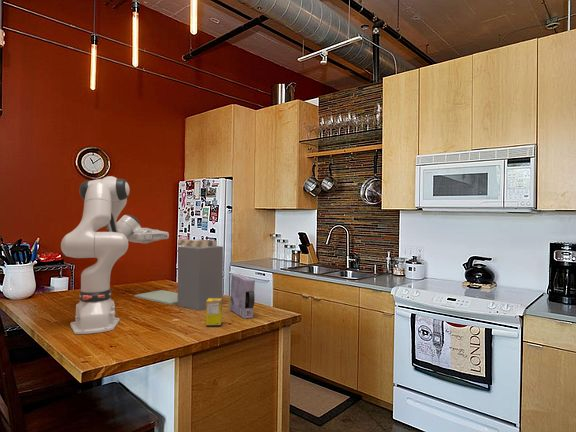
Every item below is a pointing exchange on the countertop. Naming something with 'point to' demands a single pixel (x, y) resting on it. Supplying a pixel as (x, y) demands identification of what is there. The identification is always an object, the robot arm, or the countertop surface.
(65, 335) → the countertop surface
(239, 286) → the cake pan box
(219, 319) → the supplement box
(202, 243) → the long maple bar
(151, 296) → the sage mat
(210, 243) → the pale wood bar
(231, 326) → the countertop surface
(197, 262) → the charcoal stand
